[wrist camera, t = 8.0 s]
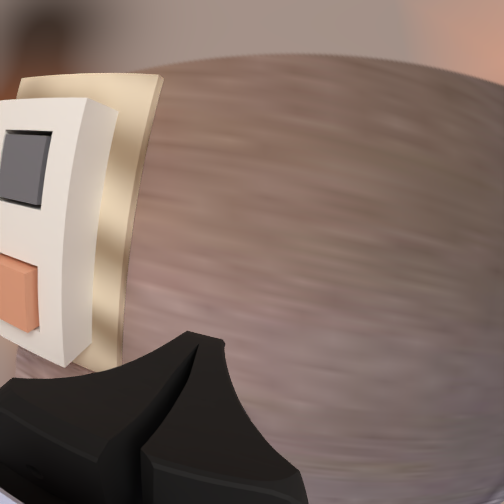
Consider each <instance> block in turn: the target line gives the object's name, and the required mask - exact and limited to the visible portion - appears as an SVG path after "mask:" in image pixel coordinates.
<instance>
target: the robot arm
mask: <svg viewBox="0 0 504 504" xmlns="http://www.w3.org/2000/svg"><path fill="white" fill-rule="evenodd" d="M224 347H225V342H224V341H223V340H222V339H218V338H214V337H210V336H206V335H202V334H198V333H194V332H190V331H186V332H185V333H183V334H181V335H180V336H178V337H176V338H175V339H173V340H172V341H170V342H168V343H167V344H165V345H163V346H162V347H160V348H158V349H156V350H154V351H153V352H151V353H149V354H147V355H145V356H143V357H141V358H138V359H136V360H134V361H132V362H129V363H127V364H124V365H121V366H118V367H115V368H112V369H109V370H105V371H101V372H96V373H91V374H87V375H82V376H75V377H67V378H55V379H25V378H12V379H10V380H9V381H8V382H7V383H6V384H4V385H3V386H2V387H1V388H0V504H308V498H307V494H306V490H305V486H304V483H303V480H302V477H301V474H300V471H299V470H298V469H296V468H295V467H294V466H293V465H292V464H290V463H289V462H288V461H287V460H286V459H285V458H283V457H282V456H281V455H280V454H279V453H278V452H276V451H275V450H274V449H273V448H272V446H271V445H270V444H269V443H268V442H267V441H266V440H265V439H264V437H263V436H262V435H261V433H260V432H259V431H258V430H257V428H256V427H255V426H254V424H253V423H252V422H251V420H250V418H249V417H248V415H247V414H246V411H245V410H244V408H243V407H242V405H241V403H240V401H239V399H238V397H237V394H236V392H235V390H234V387H233V385H232V382H231V379H230V376H229V372H228V368H227V365H226V360H225V352H224Z"/></svg>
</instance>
